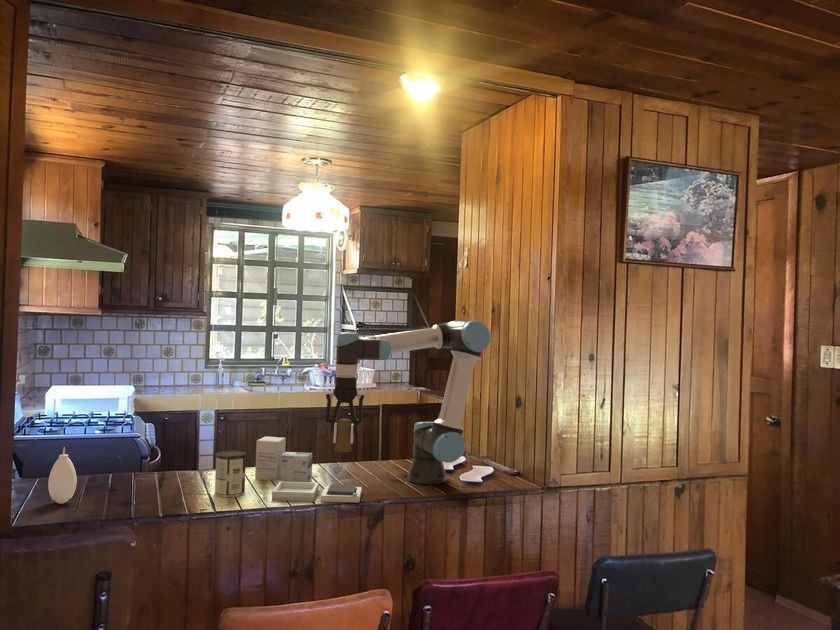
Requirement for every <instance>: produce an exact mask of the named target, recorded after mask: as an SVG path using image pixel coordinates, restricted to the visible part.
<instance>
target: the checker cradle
mask: <svg viewBox="0 0 840 630" xmlns="http://www.w3.org/2000/svg"><path fill="white" fill-rule="evenodd" d="M329 487H330V485H325V486H324V488H323V491H322V493H321V494H320V502H325V503H326V502H329V503H331V502H332V503H333V502H334V503H360V500H361V497H362V486H356V490H355V493H353V495H328V489H329Z"/></svg>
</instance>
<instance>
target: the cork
mask: <svg viewBox="0 0 840 630" xmlns="http://www.w3.org/2000/svg"><path fill="white" fill-rule="evenodd" d="M336 423H337V438H336V443H334V444H335V445H334V452H336V453H337V452H339V453H349V452H352V450H353V449H352V444H350V439H351V424H353V422H352V421H351V419H349V418H339V419H338V420H337V421H336Z"/></svg>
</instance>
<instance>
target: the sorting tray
mask: <svg viewBox="0 0 840 630" xmlns="http://www.w3.org/2000/svg"><path fill="white" fill-rule="evenodd" d="M319 484H320V483H319V482H312V481H310V482H282V481H280V480H279V482H278V483H277V484H276V485H275V487H274V488H273V490H272V492H271V501H277V502H280V501H283V502H285V501H286V502H311V503H312V502H314V501H315V499H316V497H317V495H318V493H319V489H320V488H319V486H320V485H319Z"/></svg>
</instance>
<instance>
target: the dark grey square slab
mask: <svg viewBox="0 0 840 630" xmlns="http://www.w3.org/2000/svg"><path fill="white" fill-rule="evenodd" d="M329 486H330V487H329V489H328V495H353V493H355V490H356V487H357V485H355V484H330V485H329Z"/></svg>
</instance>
